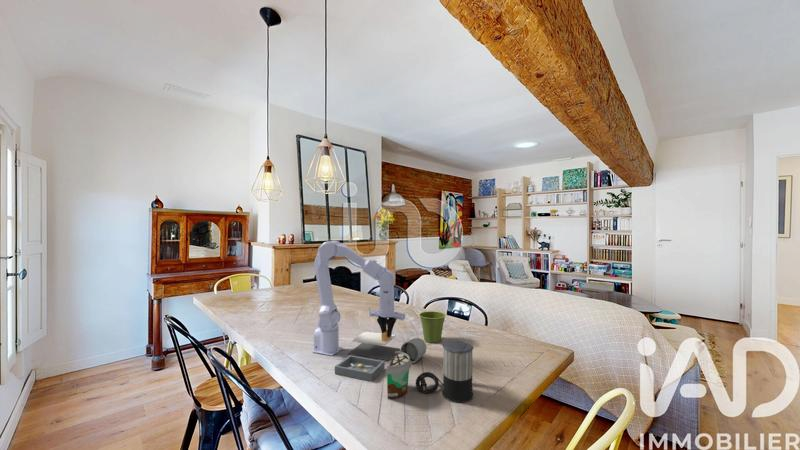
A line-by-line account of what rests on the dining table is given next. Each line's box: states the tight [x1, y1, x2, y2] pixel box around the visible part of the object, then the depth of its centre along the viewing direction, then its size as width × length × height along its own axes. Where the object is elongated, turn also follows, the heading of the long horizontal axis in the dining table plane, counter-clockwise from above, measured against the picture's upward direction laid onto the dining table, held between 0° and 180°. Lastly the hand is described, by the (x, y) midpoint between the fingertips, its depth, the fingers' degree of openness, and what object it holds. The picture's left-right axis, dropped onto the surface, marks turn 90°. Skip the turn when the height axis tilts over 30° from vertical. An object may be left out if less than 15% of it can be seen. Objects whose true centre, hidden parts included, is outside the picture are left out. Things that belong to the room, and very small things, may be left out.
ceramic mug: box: [399, 337, 427, 364], centre depth 120 cm, size 11×8×8 cm
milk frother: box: [415, 339, 474, 403], centre depth 96 cm, size 14×16×15 cm
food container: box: [386, 350, 412, 400], centre depth 97 cm, size 12×6×10 cm, turn 168°
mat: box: [347, 343, 401, 362], centre depth 127 cm, size 17×12×1 cm
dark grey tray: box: [334, 354, 386, 382], centre depth 110 cm, size 14×10×3 cm
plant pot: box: [418, 310, 447, 343], centre depth 139 cm, size 12×12×11 cm
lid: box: [351, 330, 396, 346], centre depth 126 cm, size 14×10×4 cm
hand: (386, 336), depth 125 cm, fingers closed on lid
